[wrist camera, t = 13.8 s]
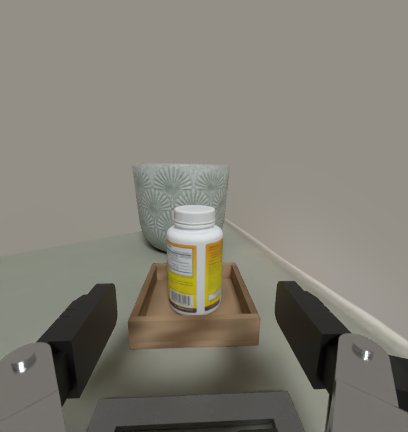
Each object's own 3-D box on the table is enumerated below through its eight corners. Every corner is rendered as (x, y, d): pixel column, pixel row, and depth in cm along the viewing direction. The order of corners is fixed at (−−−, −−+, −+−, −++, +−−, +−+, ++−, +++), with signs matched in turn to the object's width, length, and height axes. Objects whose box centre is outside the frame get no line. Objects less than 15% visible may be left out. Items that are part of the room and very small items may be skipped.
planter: (239, 260, 35) (244, 164, 32) (131, 268, 32) (124, 162, 29) (215, 231, 51) (216, 165, 48) (141, 234, 48) (137, 164, 45)
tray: (130, 349, 18) (127, 321, 17) (153, 281, 28) (152, 263, 27) (258, 345, 18) (260, 318, 18) (234, 280, 29) (235, 262, 28)
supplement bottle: (215, 286, 26) (217, 203, 24) (226, 317, 21) (230, 213, 18) (168, 289, 25) (166, 203, 23) (167, 322, 20) (164, 214, 18)
